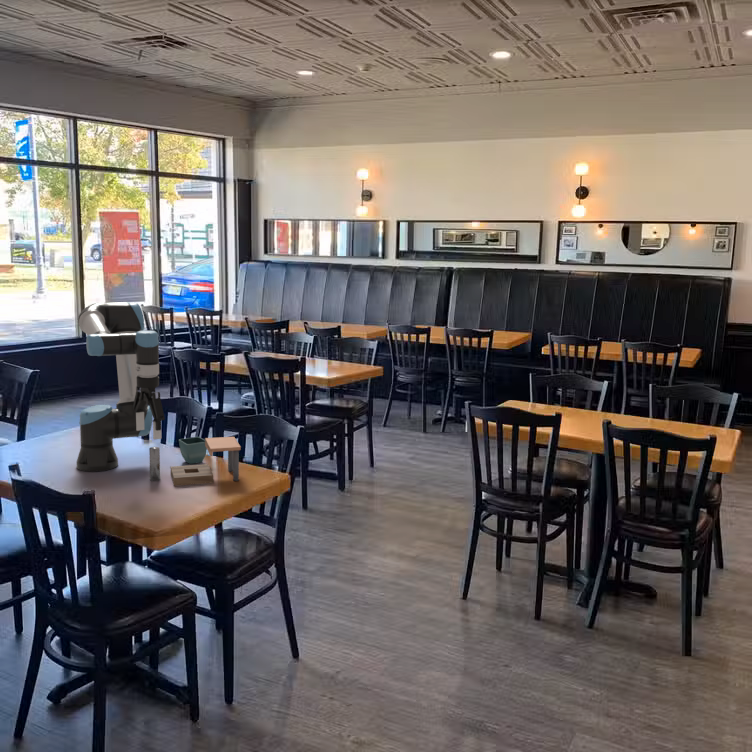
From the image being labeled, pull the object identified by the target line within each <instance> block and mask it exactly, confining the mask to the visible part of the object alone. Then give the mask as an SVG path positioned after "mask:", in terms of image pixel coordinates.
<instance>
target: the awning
mask: <svg viewBox="0 0 752 752" xmlns="http://www.w3.org/2000/svg"><path fill="white" fill-rule="evenodd" d="M204 440H205V446H206V448H207V450H206V451H207V453H209V457H213V456H214V455H213V454H214V453H215V452H216V453H217V452H227V471H228V472H232V473H233V474H232V476H233V479H232V480H233V482H238V481H239V480H240V477H239V476H240V474H239V473H240V471H239V470H240V467H239V465H240V463H239V461H240V460H239V458H240V456H239V455H240V454H239V453H240V451H241V450H242V449H241V448H242V446H241V445H240V444H239V442H238V440H237V438H235V436H225V437H224V436H223V437H222V436H221V437H220V436H219V437H205V438H204Z"/></svg>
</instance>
